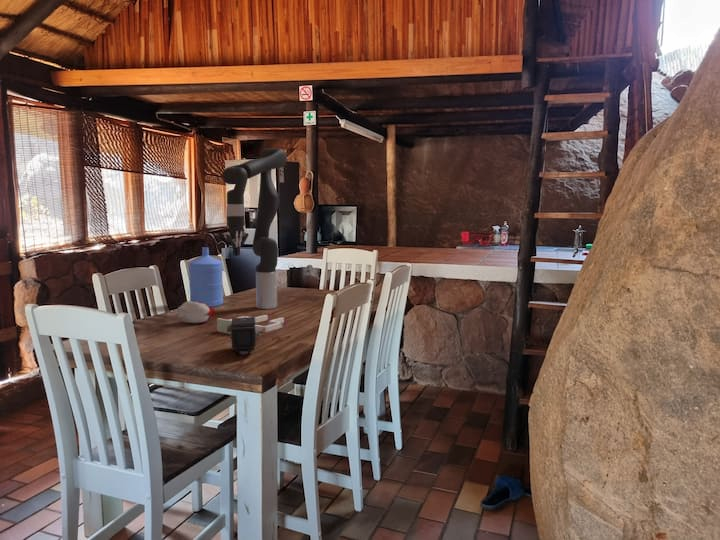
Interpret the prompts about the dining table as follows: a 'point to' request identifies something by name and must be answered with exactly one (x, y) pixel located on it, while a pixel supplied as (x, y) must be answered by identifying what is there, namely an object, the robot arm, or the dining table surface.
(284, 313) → the dining table surface
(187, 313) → the white and red lump
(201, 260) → the water jug
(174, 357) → the dining table surface
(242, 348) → the camera
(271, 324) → the box
